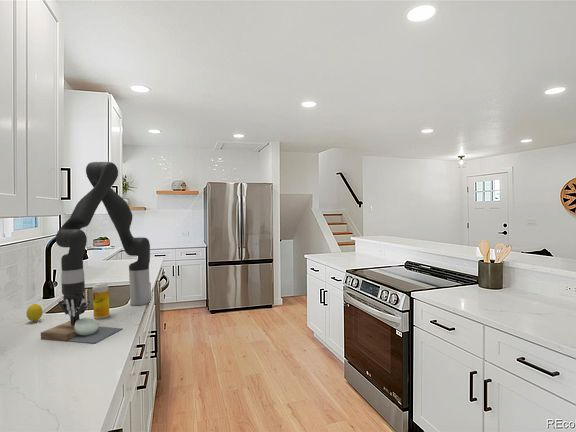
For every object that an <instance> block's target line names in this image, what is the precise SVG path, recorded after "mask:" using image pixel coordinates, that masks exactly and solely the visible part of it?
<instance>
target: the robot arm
mask: <svg viewBox="0 0 576 432" xmlns="http://www.w3.org/2000/svg"><path fill="white" fill-rule="evenodd" d="M85 175H86V177H87V179H88V181H89V182H90V184H91V187H93V188H92V189H90V191H88V192H87V194H85V195H84V196H83V197H82V198H80V199H79V201H78V202H77V204H76V205H75V207H74V209H73V210H72V213H71V215H70V216H69V218H68V219H66V221H65V223H63V224H62V226H61V227H60V228H59V229H58V231H57V233H56V235H55V243H56V245H57V246H58V247H61V248H69V250H68V252H67V253H65V254H63V255H62V256H61V258H60V259H61V260H60V264H61V267H60V268H61V274H60V276H61V277H60V279H61V280H60V281H61V294H62V295H63V297H62V300H59V301H58V306H59V307H60V308H61V310H62V311H63V312H64V314H65V315H68V316H69V319H70V320H69V321H70V322H71V325H72V326H75V322H76V321H77V320H79V319H80V315H83V314H84V313H85V312H86V310H87V309H88V306H89V305H90V304H91V302H90V301H89V300H86V299H85V295H84V293H85V291H86V287H85V286H86V283H85V272H84V271H85V270H84V255H85V251H86V247H87V242H88V241H87V234H86V232H84V230H82V229H84V228H86V227H88V226H89V225H90V224H91V222H92V219H93V217H94V215H95V213H96V211H97V210H98V207H99V206H100V203H103V206H104V207H105V209H106V210H105V211H106V212H107V214H108V216H109V218H110V220H111V222H112V224H113V226H114V228H115V229H116V232H117V234H118V237H119V241H120V242H121V245H122V248H123V250H124V251H125V254H126V255H127V256H131V257H137V260H136V261H134V262H131V263H129V265H128V273H129V274H128V277H129V298H130V299H129V300H130V301H129V303H130V305H131V306H143V305H147V304H149V303H151V301H152V283H151V281H150V263H151V262H150V260H151V245H150V244H151V243H150V240H149V239H148V238H147V237H143V236H141V237H140V236H139V237H134V236H133V235H132V232H131V225H132V221H133V213H132V211H131V208H130V206H129V204H128V202H127V201H126V200H125V198H123V197H122V196H120V195H119V194H118V193H117V192H116V191H115V190H113V188H112V187H113V185H114V184H115V183H116V181H117V180H118V177H119V169H118V167H117V166H116V163H113V162H111V161H110V162H109V161H93V162H88V164H87V165H86V167H85Z"/></svg>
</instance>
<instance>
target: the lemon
mask: <svg viewBox="0 0 576 432" xmlns="http://www.w3.org/2000/svg"><path fill="white" fill-rule="evenodd" d="M43 312H44V311H43V307H42V306H41V305H40V304H37V303H32V304H31V305H29V306H28V308H27V310H26V318H27V319H28V320H29V321H32V322H33V323H36V322H37V321H38V320H39V319H41V318H42V317H43V314H44V313H43Z"/></svg>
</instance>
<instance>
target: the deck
mask: <svg viewBox="0 0 576 432" xmlns="http://www.w3.org/2000/svg"><path fill="white" fill-rule="evenodd" d="M76 336H79V334H77V333H75V332H74V326H72V325H71V322H70V320H69V321H66V322H64V323H61V324H59V325H56V326H53V327H52V328H49V329H45V330H44V331H41V332H40V340H48V341H59V342H68V340H70V339H72V338H74V337H76Z"/></svg>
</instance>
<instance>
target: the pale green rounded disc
mask: <svg viewBox="0 0 576 432" xmlns="http://www.w3.org/2000/svg"><path fill="white" fill-rule="evenodd" d="M98 327H100V324H99V322H98V321H97V319H94V318H90V317H83V318H79V320H77V321H76V322H75V326H74V332H75V333H77V334H79V335H85V336H87V335H93V334H95V333H96V332H97V329H98Z"/></svg>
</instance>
